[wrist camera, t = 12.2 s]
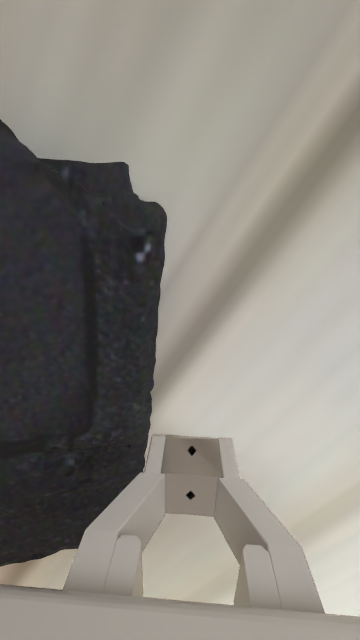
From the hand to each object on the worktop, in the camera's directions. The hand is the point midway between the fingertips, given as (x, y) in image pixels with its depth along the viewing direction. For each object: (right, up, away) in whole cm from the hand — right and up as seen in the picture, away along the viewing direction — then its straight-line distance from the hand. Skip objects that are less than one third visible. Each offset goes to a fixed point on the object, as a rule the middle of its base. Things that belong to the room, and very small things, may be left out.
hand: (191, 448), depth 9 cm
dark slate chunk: (-9, +2, +4) cm, 10 cm away
